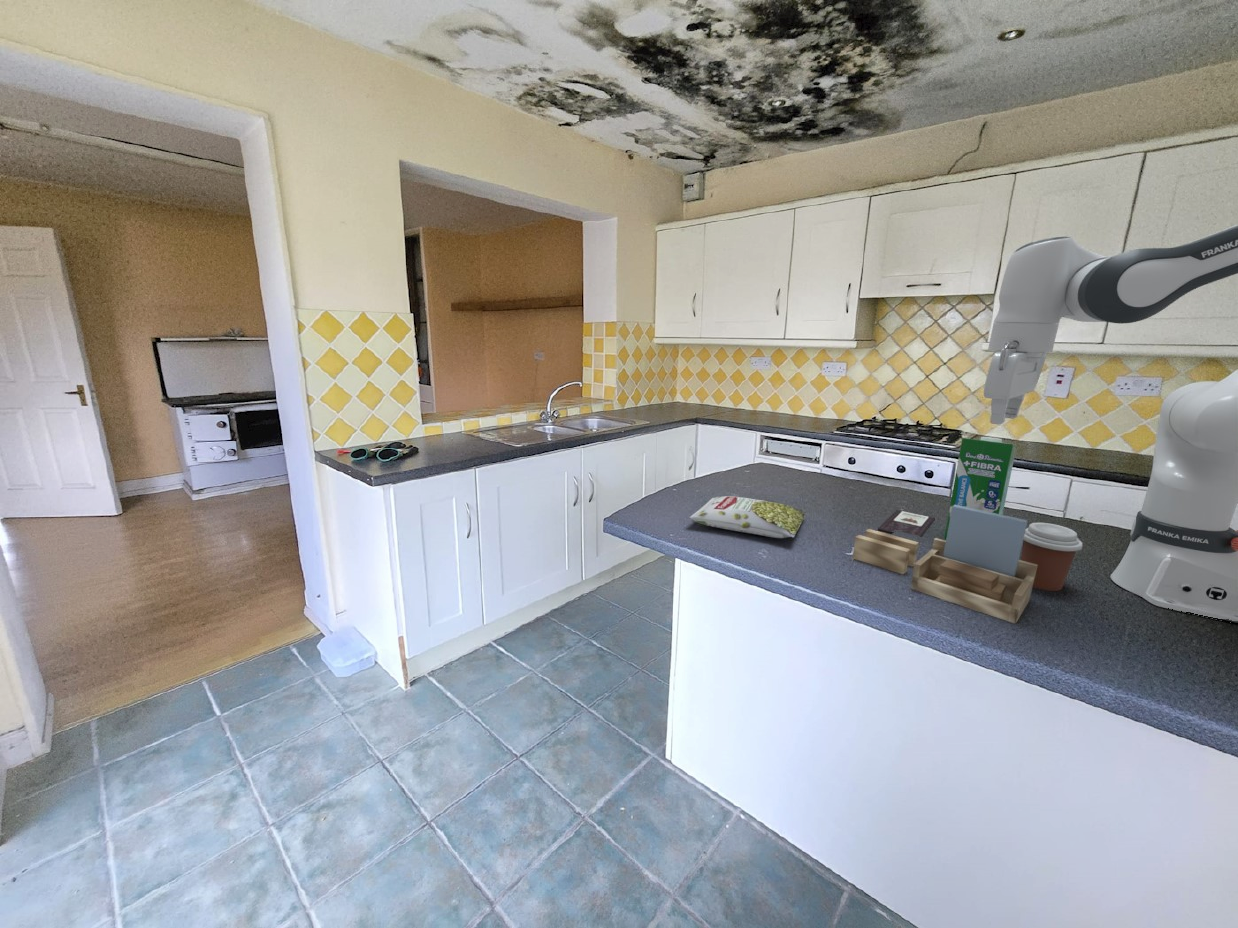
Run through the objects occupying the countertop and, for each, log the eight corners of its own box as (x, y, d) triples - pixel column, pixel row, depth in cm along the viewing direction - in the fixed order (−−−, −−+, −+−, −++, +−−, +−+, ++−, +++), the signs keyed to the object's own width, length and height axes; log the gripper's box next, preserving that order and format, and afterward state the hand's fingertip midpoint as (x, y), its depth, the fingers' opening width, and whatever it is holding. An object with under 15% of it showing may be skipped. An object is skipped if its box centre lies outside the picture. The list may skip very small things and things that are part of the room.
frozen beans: (795, 525, 113) (688, 507, 124) (792, 549, 114) (687, 529, 125) (807, 501, 131) (713, 487, 142) (805, 522, 132) (712, 507, 143)
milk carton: (996, 542, 119) (1018, 437, 112) (990, 554, 112) (1013, 443, 106) (951, 532, 125) (970, 431, 118) (943, 542, 118) (962, 437, 112)
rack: (1028, 605, 91) (1037, 564, 89) (1014, 628, 84) (1024, 585, 82) (929, 574, 103) (935, 537, 101) (909, 593, 95) (916, 553, 93)
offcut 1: (997, 583, 90) (999, 574, 89) (990, 590, 87) (992, 581, 87) (946, 567, 95) (948, 558, 95) (938, 574, 93) (940, 565, 93)
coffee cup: (1006, 572, 104) (1018, 517, 101) (1064, 583, 99) (1078, 525, 96) (1013, 591, 96) (1026, 532, 93) (1075, 604, 92) (1091, 542, 89)
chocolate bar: (877, 528, 125) (896, 510, 138) (877, 532, 125) (896, 513, 138) (918, 538, 119) (934, 518, 132) (918, 542, 120) (934, 521, 133)
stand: (914, 568, 105) (919, 542, 104) (902, 578, 101) (906, 551, 99) (865, 553, 113) (868, 528, 111) (851, 562, 108) (855, 537, 106)
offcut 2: (1003, 594, 89) (1005, 585, 89) (999, 602, 87) (1001, 593, 86) (945, 577, 96) (946, 568, 95) (939, 584, 93) (940, 575, 92)
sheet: (1010, 598, 92) (1027, 520, 88) (1008, 601, 91) (1025, 522, 87) (941, 577, 100) (954, 504, 96) (939, 579, 99) (952, 506, 95)
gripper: (1030, 342, 78) (1010, 430, 82) (1055, 341, 91) (1037, 417, 95) (982, 340, 83) (965, 424, 86) (1013, 340, 96) (997, 412, 99)
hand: (1003, 420), depth 91 cm, fingers open, 8 cm apart
